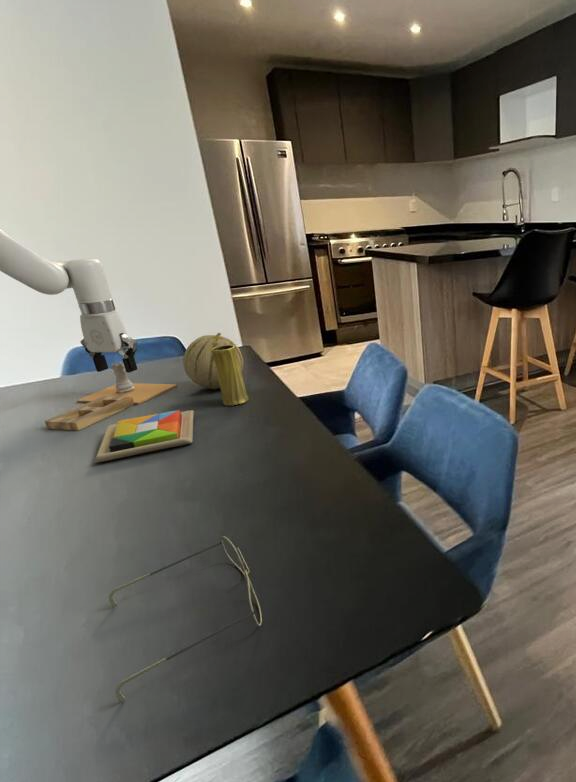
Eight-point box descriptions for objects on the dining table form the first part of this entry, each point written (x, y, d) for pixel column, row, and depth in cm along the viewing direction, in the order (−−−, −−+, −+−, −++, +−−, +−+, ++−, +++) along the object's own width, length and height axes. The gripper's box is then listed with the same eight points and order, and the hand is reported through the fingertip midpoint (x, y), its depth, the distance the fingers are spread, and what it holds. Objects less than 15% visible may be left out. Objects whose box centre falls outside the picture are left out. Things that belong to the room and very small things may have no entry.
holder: (47, 429, 115) (44, 421, 114) (106, 403, 130) (103, 396, 129) (78, 430, 113) (75, 422, 112) (134, 404, 128) (132, 397, 127)
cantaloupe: (184, 388, 137) (169, 336, 132) (236, 375, 146) (224, 325, 141) (201, 401, 127) (186, 344, 121) (256, 385, 136) (245, 332, 130)
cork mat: (77, 402, 132) (76, 400, 132) (120, 384, 144) (119, 382, 144) (139, 404, 127) (138, 402, 127) (177, 386, 140) (177, 384, 140)
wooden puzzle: (94, 467, 95) (87, 451, 94) (111, 431, 112) (106, 417, 110) (192, 446, 102) (188, 431, 100) (195, 415, 118) (191, 401, 116)
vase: (218, 403, 124) (204, 349, 119) (239, 396, 129) (227, 343, 123) (232, 408, 121) (218, 352, 116) (253, 399, 126) (241, 345, 120)
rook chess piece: (119, 394, 134) (109, 366, 131) (114, 391, 137) (105, 364, 134) (137, 390, 137) (128, 362, 134) (132, 386, 140) (123, 359, 137)
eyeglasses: (272, 628, 56) (263, 594, 54) (119, 704, 48) (102, 667, 46) (237, 556, 68) (229, 526, 66) (111, 607, 60) (98, 574, 58)
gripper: (57, 311, 127) (79, 374, 133) (112, 311, 123) (132, 375, 129) (83, 305, 133) (103, 366, 140) (136, 305, 130) (154, 367, 136)
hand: (117, 370), depth 135 cm, fingers open, 9 cm apart
